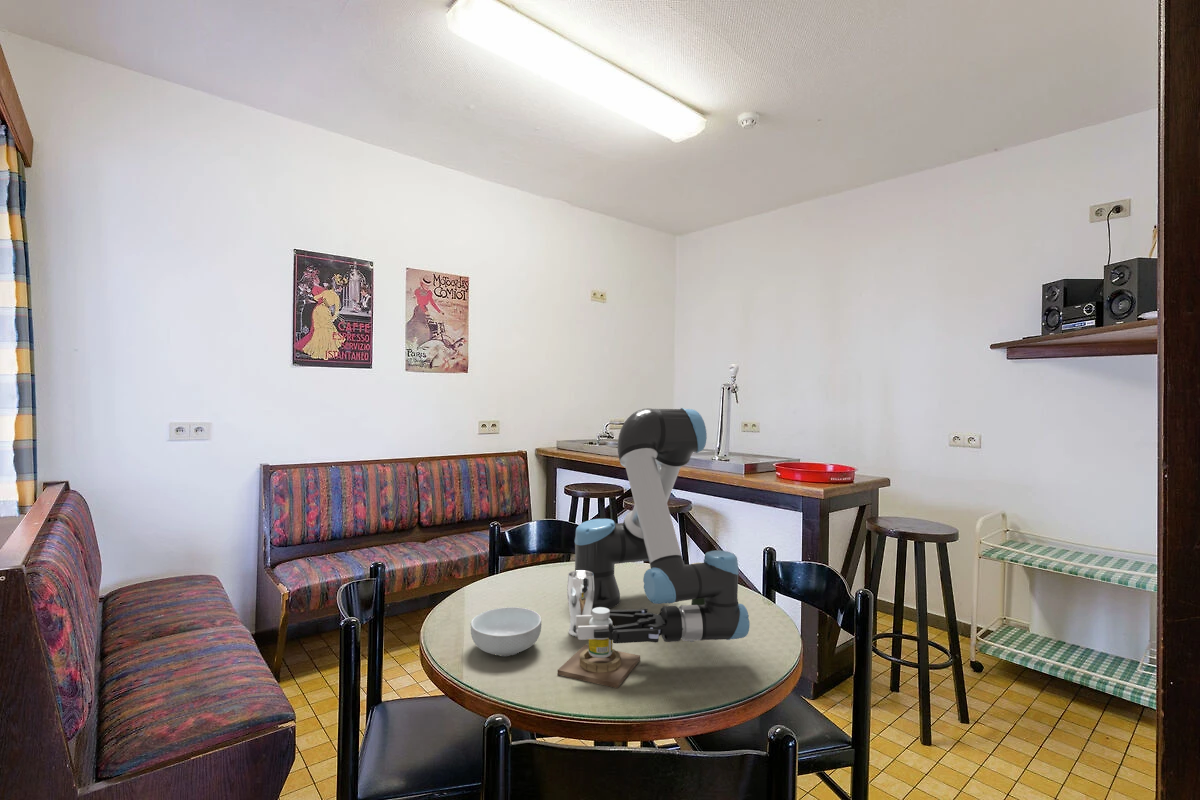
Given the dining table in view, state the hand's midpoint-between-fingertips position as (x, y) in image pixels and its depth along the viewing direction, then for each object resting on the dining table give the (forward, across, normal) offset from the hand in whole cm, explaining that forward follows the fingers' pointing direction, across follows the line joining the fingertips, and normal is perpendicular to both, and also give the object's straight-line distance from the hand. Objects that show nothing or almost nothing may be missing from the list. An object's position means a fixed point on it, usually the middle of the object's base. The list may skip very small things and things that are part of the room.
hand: (577, 627), depth 127 cm
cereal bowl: (+16, +11, -9) cm, 22 cm away
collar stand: (-5, 0, -9) cm, 11 cm away
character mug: (-37, +30, -9) cm, 49 cm away
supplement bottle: (-5, 0, -6) cm, 8 cm away
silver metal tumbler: (-2, +19, -9) cm, 21 cm away
